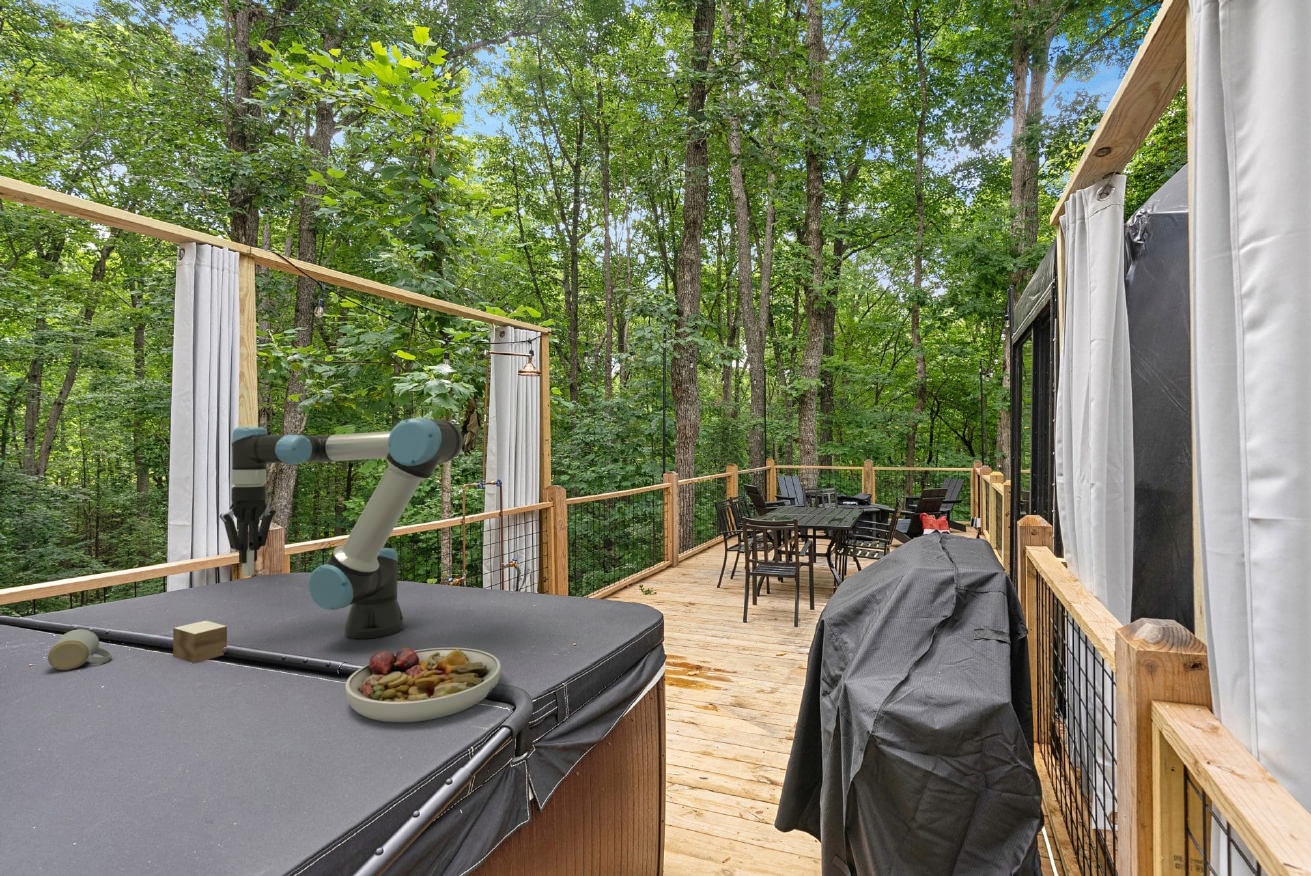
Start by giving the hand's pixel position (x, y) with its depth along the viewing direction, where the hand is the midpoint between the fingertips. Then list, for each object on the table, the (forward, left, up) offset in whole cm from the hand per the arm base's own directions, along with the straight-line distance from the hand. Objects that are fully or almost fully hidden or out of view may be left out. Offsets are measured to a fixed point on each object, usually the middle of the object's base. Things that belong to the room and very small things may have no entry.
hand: (247, 574), depth 157 cm
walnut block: (0, +11, -18) cm, 21 cm away
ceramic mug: (+18, +27, -18) cm, 37 cm away
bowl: (-68, +1, -18) cm, 71 cm away
